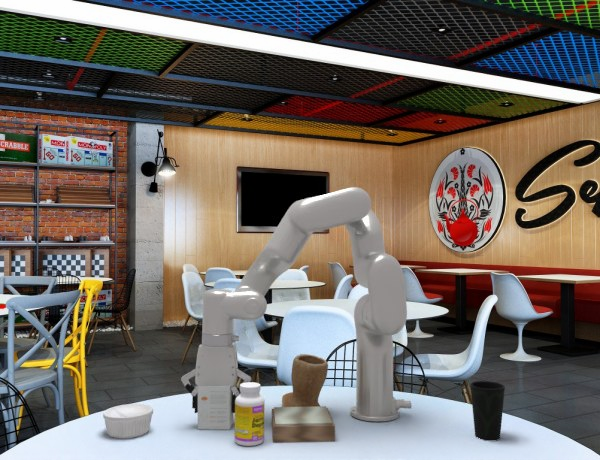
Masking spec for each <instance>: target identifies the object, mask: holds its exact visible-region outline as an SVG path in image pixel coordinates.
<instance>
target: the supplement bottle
mask: <svg viewBox="0 0 600 460" xmlns="http://www.w3.org/2000/svg"><path fill="white" fill-rule="evenodd" d="M239 387H240V392H241V394H240V395H239V396H237V398H236V400H235V413H234V442H235V443H236V444H237V445H240V446H242V447H243V446H244V447H254V446H255V447H256V446H258V445H260V444H262V443H263V442H264V440H265V398H264V396H263V395H261V394H260V392H261V384H260V383H259V382H253V381H252V382H251V381H250V382H246V383H243V382H242V383H240V384H239Z"/></svg>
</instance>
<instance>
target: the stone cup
mask: <svg viewBox="0 0 600 460" xmlns="http://www.w3.org/2000/svg"><path fill="white" fill-rule="evenodd" d="M291 365H292V366H291V376H290V379H291V386H292V391H291V392H288V393H285V394H283V395H282V397H281V402H282V403H281V404H282V407H320V406H321V405H320V403H319V397H320V394H321V391H322V389H323V387H324V384H325V382H326V380H327V377H328V368H329V363H328V361H327V359H324V358H322V357H320V356H317V355H313V354H307V353H306V354H305V353H304V354H303V353H302V354H301V353H300V354H297V355H296V356H295V357H294V358H293V361H292V364H291Z"/></svg>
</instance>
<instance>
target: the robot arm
mask: <svg viewBox="0 0 600 460" xmlns="http://www.w3.org/2000/svg"><path fill="white" fill-rule="evenodd" d="M371 206H372V200H371V196H370V195H369V194H368V192H367V191H366V190H365V189H363V188H361V187H357V186H351V187H347V188H342V189H339V190H335V191H332V192H329V193H326V194H322V195H315V196H312V197H311V196H310V197H306V198H304V199H303V198H302V199H300V200H296V201H294V202H293V203H292V204H291V205H290V206H289V207H288V209H287V211H286V212H285V214H284V215H283V217H282V218H281V220H280V222H279V224H278V225H277V227H276V228H275V230H274V231H273V233H272V235H270V236H271V237H270V238H269V239H268V241H267V242H266V244H265V246H264V248H263V249H262V250H261V251H260V252H259V253H258V255H257V257H256V259H255V260H254V261H253V262H252V264H251V265H250V266H249V268H248V270H247V271H246V272H245V274H244V276H242V279H241V280H240V282H239V284H238V286H237V287H236V288H235V289H234V290H235V291H232V290H230V289H225V288H223V289H220V288H215V289H214V288H213V289H208V290H206V291H205V292H204V293H203V297H202V298H203V299H202V331H201V335H202V336H201V344H199V345H198V349H197V355H196V363H195V368H194V369H192V370H191V371H189V372H187V373H186V374H184V375H181V376H182V377H181V378H180V380H181V382H182V384H183V386H184V387H185V389H186V391H188V392H189V393H190V395H191V396H192V403H191V405H192V407H191V409H194V413H195V414H198V386H229V385H230V387H231V390H232V392H233V406H232V413H234V414H235V400H236V398H237V396H239V395H240V394H241V392H240V386H239V387H238V385H237V383H238V378H240V379H242V380H243V382H242V383H246V382H251V381H252V377H251V376H250V375H248V374H246V373H245V372H243V371H242V370H240V369H239V367H238V350H237V346H236V344H234V343H235V342H239V341H240V340H239V339H240V335H236V334H235V333H234V322H235V321H234V320H240V321H246V322H248V321H249V322H251V321H256V320H259V319H261V318H262V317H263V316H264V315H265V313H266V312H267V308H268V303H267V300H266V298H265V296H266V294H267V293H268V292H269V290H270V288H271V287H272V285H273V284H274V283H275V282H276V280H277V279H278V278H279V277H280V276H281V275H283V274H284V273H286V272H287V271H288V270H290V269H291V268H292V266H293V265H294V264H295V263H296V261H297V260H298V258H299V256H300V254H301V253H302V251H303V250H304V248H305V246H306V244H307V243H308V241H309V240H310V238H311V237H312V235H313V233H316V232H320V231H325V230H331V229H334V228H338V227H341V226H344V227H345V229H346V230H347V233H348V235H349V238H350V246H351V252H352V263H353V265H352V266H353V273H354V278H355V280H356V283H357V284H359V285H360V286H361V287H363V288H365V289H367V294H363V295H362V296H361V297H360V298H359V299H358V300H357V302H356V303H355V306H354V310H353V318H354V327H355V338H356V362H355V363H356V369H355V370H356V371H355V372H356V378H355V379H356V380H355V381H356V382H355V383H356V385H355V387H356V389H355V390H356V391H355V394H356V397H355V399H356V400H355V402H356V403H355V405H353V406H352V407H351V408H350V409H349V410H350V411H349V412H350V415H351V416H352V417H353V418H355V419H357V420H361V421H365V422H376V423H377V422H378V423H381V422H389V421H394V420H397V418H398V417H400V411H399V410H400V409H412V402H411V400H404V398H403V399H401V398H399V399H396V398H395V397H394V341H393V335H394V336H395V335H396V334H398V333H400V332H401V331H402V330H403V328H404V327H405V325H406V322H407V318H408V309H407V297H406V287H405V277H404V271H403V269H402V266H401V264H400V263H399V261H398V260H397V258H396V257H394V256H393V255H391V254H389V253H386V247H385V242H384V235H383V229H382V225H381V222H380V220H379V218H378V217H377V215H376V214H375V213H374V211H373V210H372V208H371ZM194 377H195V378H194ZM191 378H194V383H195V386H193V385H192V384H191V383H190V379H191Z"/></svg>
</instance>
